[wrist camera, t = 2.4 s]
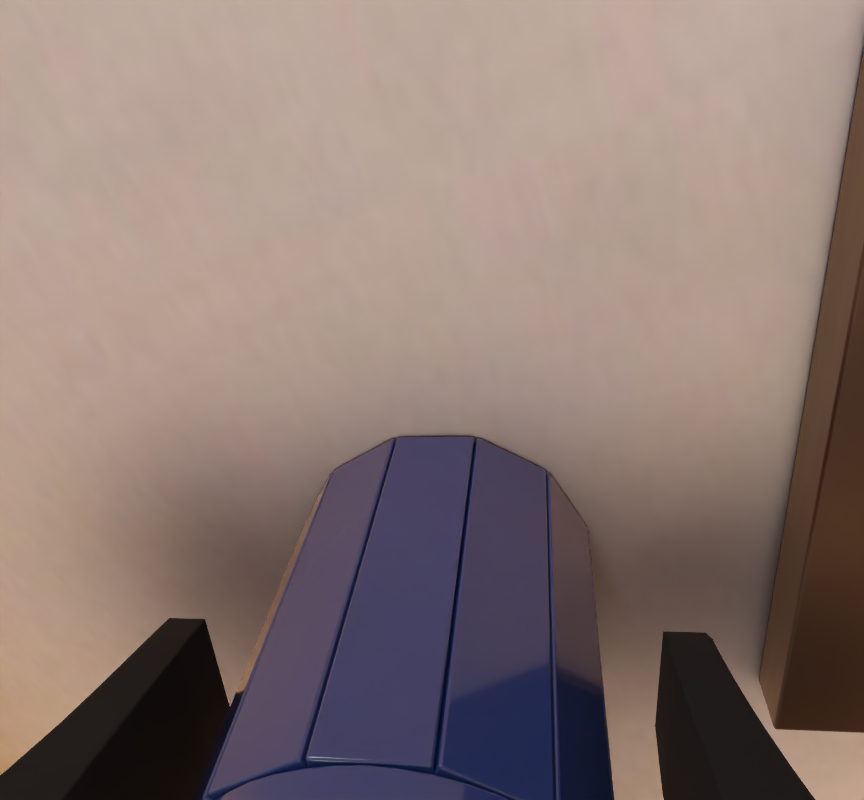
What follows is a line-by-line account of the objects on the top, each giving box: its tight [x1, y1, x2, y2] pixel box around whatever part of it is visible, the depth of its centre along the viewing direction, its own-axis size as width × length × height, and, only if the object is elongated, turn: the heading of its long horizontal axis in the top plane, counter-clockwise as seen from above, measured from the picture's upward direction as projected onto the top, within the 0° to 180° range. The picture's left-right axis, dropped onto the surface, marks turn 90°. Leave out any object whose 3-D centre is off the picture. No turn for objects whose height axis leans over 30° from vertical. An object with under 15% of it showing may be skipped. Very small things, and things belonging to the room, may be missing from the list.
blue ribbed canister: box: [193, 437, 614, 800], centre depth 12 cm, size 5×5×7 cm
